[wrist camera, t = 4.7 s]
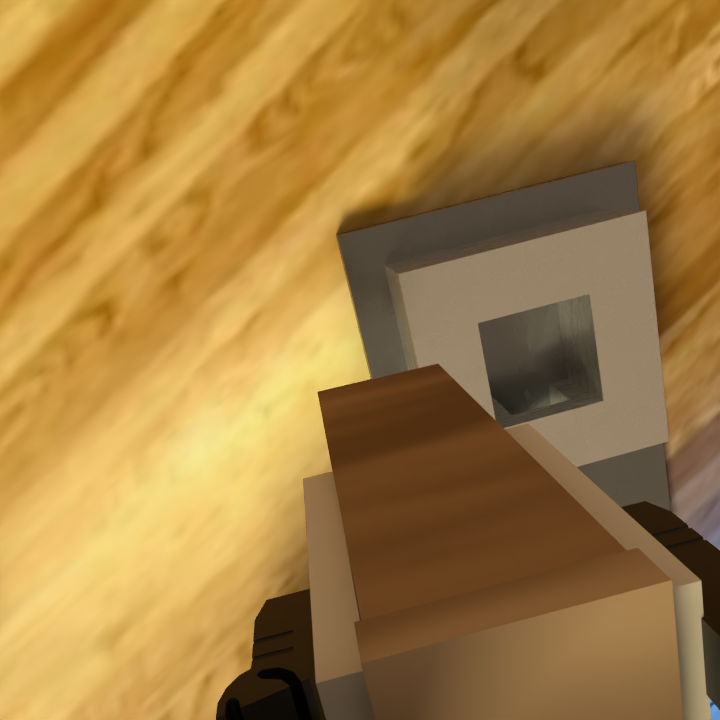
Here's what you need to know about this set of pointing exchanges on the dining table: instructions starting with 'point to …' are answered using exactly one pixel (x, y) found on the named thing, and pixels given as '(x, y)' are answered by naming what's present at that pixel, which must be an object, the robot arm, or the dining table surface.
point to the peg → (486, 570)
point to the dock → (530, 317)
